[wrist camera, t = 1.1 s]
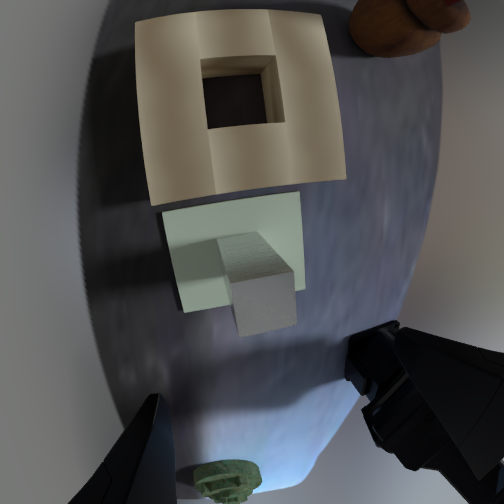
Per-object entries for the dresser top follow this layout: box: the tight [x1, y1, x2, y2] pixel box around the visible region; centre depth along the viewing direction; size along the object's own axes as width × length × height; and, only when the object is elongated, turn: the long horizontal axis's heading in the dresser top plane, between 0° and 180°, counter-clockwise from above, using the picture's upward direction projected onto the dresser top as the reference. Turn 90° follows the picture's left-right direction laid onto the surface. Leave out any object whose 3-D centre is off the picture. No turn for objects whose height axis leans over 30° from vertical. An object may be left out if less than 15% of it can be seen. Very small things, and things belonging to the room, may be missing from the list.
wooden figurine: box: [348, 0, 471, 58], centre depth 10 cm, size 7×6×15 cm
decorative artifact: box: [193, 460, 262, 504], centre depth 28 cm, size 10×7×10 cm
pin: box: [216, 231, 297, 337], centre depth 17 cm, size 3×3×8 cm
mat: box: [162, 191, 305, 313], centre depth 21 cm, size 10×8×1 cm
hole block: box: [135, 9, 346, 206], centre depth 15 cm, size 12×12×4 cm
